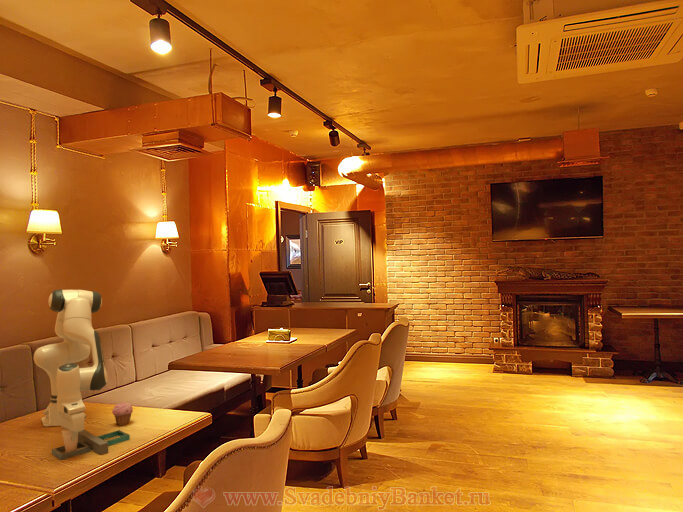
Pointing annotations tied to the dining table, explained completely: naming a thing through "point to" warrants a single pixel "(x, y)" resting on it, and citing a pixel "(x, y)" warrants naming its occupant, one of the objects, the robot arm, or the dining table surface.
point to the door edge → (93, 442)
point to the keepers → (86, 448)
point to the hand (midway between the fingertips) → (70, 438)
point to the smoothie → (69, 440)
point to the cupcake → (122, 413)
